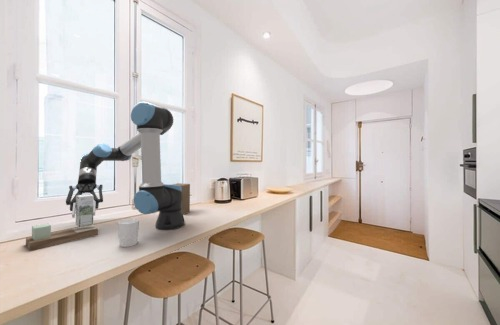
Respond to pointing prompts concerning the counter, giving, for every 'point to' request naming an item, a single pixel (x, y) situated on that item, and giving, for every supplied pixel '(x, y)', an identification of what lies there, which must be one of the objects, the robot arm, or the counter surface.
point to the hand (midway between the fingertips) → (83, 215)
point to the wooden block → (185, 197)
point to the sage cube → (41, 231)
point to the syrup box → (84, 210)
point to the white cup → (128, 232)
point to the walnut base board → (62, 237)
